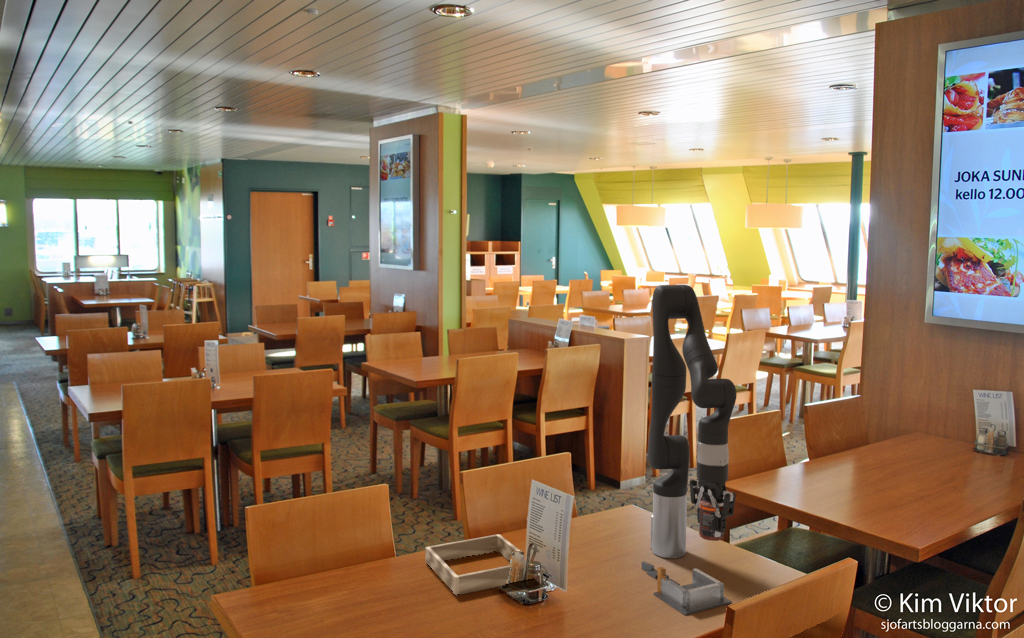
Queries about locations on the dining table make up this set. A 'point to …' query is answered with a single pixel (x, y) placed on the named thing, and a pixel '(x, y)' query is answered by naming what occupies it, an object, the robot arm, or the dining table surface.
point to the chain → (653, 571)
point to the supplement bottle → (708, 520)
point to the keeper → (691, 592)
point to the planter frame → (468, 548)
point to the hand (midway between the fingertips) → (711, 527)
